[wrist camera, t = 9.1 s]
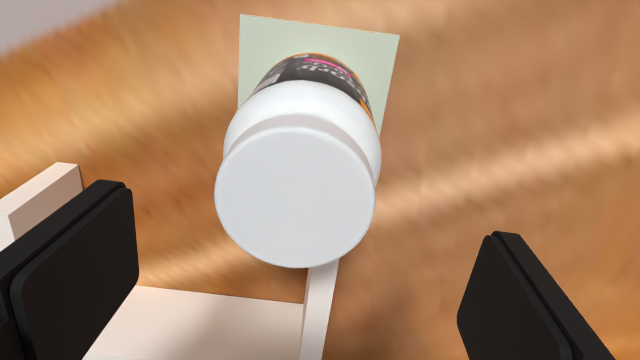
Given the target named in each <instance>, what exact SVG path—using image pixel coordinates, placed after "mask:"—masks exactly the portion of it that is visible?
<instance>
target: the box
mask: <svg viewBox="0 0 640 360" xmlns="http://www.w3.org/2000/svg"><path fill="white" fill-rule="evenodd" d="M82 191H83V188H82V183H81V177H80V171H79V166H78V165H77V164H69V163H61V162H57V163H55V164H54V165H52V166H51V167H49V168H48V169H46V170H44V171H43V172H41V173H40V174H38V175H37V176H35V177H34V178H32V179H31V180H29V181H28V182H26V183H25V184H23V185H22V186H20V187H19V188H17V189H16V190H14V191H12V192H11V193H9V194H8V195H6V196H5V197H3V198H2V199H0V251H2V250H3V249H4V248H6V247H7V246H9V245H10V244H11V243H13V242H14V241H15V240H17V239H18V238H19V237H21V236H22V235H23V234H25V233H26V232H28V231H29V230H30V229H32V228H33V227H34V226H36V225H37V224H38V223H40V222H41V221H42V220H44V219H45V218H47V217H48V216H49V215H51V214H52V213H53V212H55V211H56V210H57V209H59V208H60V207H61V206H63V205H64V204H66V203H67V202H68V201H70V200H71V199H72V198H74V197H75V196H76V195H78V194H79V193H80V192H82ZM339 259H340V258H338V259H336V260H334V261H332V262H330V263H327V264H324V265H320V266H316V267H309V268H308V275H307V282H306V290H305V297H304V304H296V303H287V302H278V301H270V300H261V299H252V298H243V297H234V296H225V295H216V294H208V293H199V292H190V291H181V290H172V289H163V288H154V287H146V286H137V285H135V287H134V288H133V289H132V291H131V292H130V294H129V295H128V296H127V298H126V299H125V300H124V302H123V303H122V305H121V306H120V307H119V309H118V310H117V312H116V313H115V314H114V316H113V317H112V319H111V320H110V321H109V323H108V324H107V325H106V327H105V328H104V330H103V331H102V332H101V334H100V335H99V337H98V338H97V339H96V341H95V342H94V343H93V345H92V346H91V348H90V349H89V350H88V352H87V353H86V355H85V356H84V357H83V359H82V360H321V359H322V353H323V347H324V342H325V336H326V331H327V325H328V320H329V314H330V309H331V303H332V297H333V292H334V286H335V281H336V275H337V270H338V264H339Z"/></svg>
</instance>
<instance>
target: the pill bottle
mask: <svg viewBox="0 0 640 360" xmlns="http://www.w3.org/2000/svg"><path fill="white" fill-rule="evenodd" d="M381 159H382V158H381V146H380V141H379V137H378V133H377V129H376V126H375V123H374V119H373V116H372V111H371V107H370V104H369V101H368V97H367V94H366V91H365V89H364V86H363V84H362V82H361V80H360V79H359V77H358V76H357V74H356V73H355V72H354V71H353V70H352V69H351V68H350V67H349V66H348V65H347V64H345V63H344V62H342V61H341V60H339V59H337V58H335V57H333V56H330V55H328V54H324V53H317V52H304V53H298V54H294V55H291V56H289V57H287V58H285V59H283V60H281V61H280V62H278V63H277V64H275V65H274V66H273V67H272V68H271V69H270V70H269V71H268V72H267V73H266V75H265V76H264V77H263V79H262V80H261V81H260V82H259V84H258V85H257V86H256V88H255V89H254V90H253V92H252V93H251V94H250V96H249V97H248V98H247V99H246V101H245V102H244V103H243V104H242V105H241V106H240V108H239V109H238V111H237V112H236V114H235V115H234V117H233V119H232V121H231V122H230V124H229V127H228V129H227V132H226V136H225V141H224V148H223V162H222V164H221V166H220V169H219V171H218V174H217V178H216V183H215V190H214V200H215V207H216V211H217V214H218V217H219V219H220V221H221V224H222V226H223V227H224V229H225V231H226V232H227V234H228V235H229V236H230V237H231V238H232V239H233V241H234V242H235V243H236V244H237V245H238V246H239V247H240V248H242V249H243V250H244V251H246V252H247V253H249V254H250V255H252V256H254V257H255V258H257V259H259V260H261V261H264V262H267V263H269V264H272V265H276V266H281V267H288V268H309V267H316V266H320V265H324V264H327V263H330V262H332V261H334V260H336V259H338V258H340V257H342V256H344V255H345V254H346V253H348V252H349V251H350V250H352V249H353V248H354V247H355V246H356V245H357V244H358V243H359V242H360V241H361V239H362V238H363V237H364V235H365V234H366V232H367V230H368V228H369V226H370V224H371V221H372V218H373V215H374V210H375V187H376V185H377V182H378V178H379V175H380V170H381Z"/></svg>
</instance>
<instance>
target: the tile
mask: <svg viewBox="0 0 640 360" xmlns="http://www.w3.org/2000/svg"><path fill="white" fill-rule="evenodd" d="M399 37H400V36H399V35H398V34H392V33H384V32H377V31H369V30H362V29H354V28H347V27H339V26H332V25H324V24H317V23H309V22H302V21H294V20H287V19H279V18H271V17H264V16H256V15H249V14H241V15H240V40H239V79H238V109H239V108H240V106H241V105H242V104H243V103H244V102H245V101H246V99H247V98H248V97H249V96H250V94H251V93H252V92H253V90H254V89H255V88H256V86H257V85H258V84H259V82H260V81H261V80H262V79H263V77H264V76H265V75H266V73H267V72H268V71H269V70H270V69H271V68H272V67H273V66H274V65H275V64H277V63H278V62H280V61H281V60H283V59H285V58H287V57H289V56H291V55H294V54H298V53H304V52H317V53H324V54H328V55H330V56H333V57H335V58H337V59H339V60H341V61H342V62H344V63H345V64H347V65H348V66H349V67H350V68H351V69H352V70H353V71H354V72H355V73H356V74H357V76H358V77H359V79H360V80H361V82H362V84H363V86H364V89H365V91H366V94H367V97H368V101H369V104H370V107H371V111H372V116H373V119H374V123H375V126H376V129H377V133H378V137H379V136H380V131H381V126H382V121H383V116H384V111H385V106H386V101H387V96H388V91H389V86H390V81H391V76H392V71H393V67H394V62H395V57H396V52H397V47H398V42H399Z"/></svg>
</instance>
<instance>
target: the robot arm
mask: <svg viewBox="0 0 640 360" xmlns="http://www.w3.org/2000/svg"><path fill="white" fill-rule="evenodd" d="M138 277H139V264H138V253H137V242H136V230H135V219H134V208H133V196H132V191H131V190H130V189H128V188H126V186H125V184H124V183H123V182H117V181H109V180H101V179H99V180H97V181H95V182H94V183H93V184H91V185H90V186H89V187H87V188H86V189H85V190H83V191H82V192H80V193H79V194H78V195H76V196H75V197H74V198H72V199H71V200H70V201H68V202H67V203H66V204H64V205H63V206H61V207H60V208H59V209H57V210H56V211H55V212H53V213H52V214H51V215H49V216H48V217H47V218H45V219H44V220H42V221H41V222H40V223H38V224H37V225H36V226H34V227H33V228H32V229H30V230H29V231H28V232H26V233H25V234H23V235H22V236H21V237H19V238H18V239H17V240H15V241H14V242H13V243H11V244H10V245H9V246H7V247H6V248H4V249H3V250H2V251H0V360H82V359H83V357H84V356H85V355H86V353H87V352H88V350H89V349H90V348H91V346H92V345H93V343H94V342H95V341H96V339H97V338H98V337H99V335H100V334H101V332H102V331H103V330H104V328H105V327H106V325H107V324H108V323H109V321H110V320H111V319H112V317H113V316H114V314H115V313H116V312H117V310H118V309H119V307H120V306H121V305H122V303H123V302H124V300H125V299H126V298H127V296H128V295H129V294H130V292H131V291H132V289H133V288H134V287H135V285H136V283H137V281H138ZM457 326H458V329H459V332H460V335H461V337H462V340H463V343H464V346H465V348H466V351H467V354H468V357H469V359H470V360H616V359H615V358H614V357H613V356H612V354H611V353H610V352H609V350H608V349H607V348H606V346H605V345H604V344H603V343H602V341H601V340H600V339H599V337H598V336H597V335H596V333H595V332H594V331H593V330H592V328H591V327H590V326H589V324H588V323H587V322H586V321H585V319H584V318H583V317H582V315H581V314H580V313H579V311H578V310H577V309H576V308H575V306H574V305H573V304H572V302H571V301H570V300H569V298H568V297H567V296H566V295H565V293H564V292H563V291H562V289H561V288H560V287H559V285H558V284H557V283H556V282H555V280H554V279H553V278H552V276H551V275H550V274H549V272H548V271H547V270H546V269H545V267H544V266H543V265H542V263H541V262H540V261H539V259H538V258H537V257H536V256H535V254H534V253H533V252H532V250H531V249H530V248H529V246H528V245H527V244H526V243H525V241H524V240H523V239H522V237H521V236H520V235H519V234H516V233H508V232H500V231H494V232H493V233H492V234H491V236H489V235H487V236H485V238H484V239H483V242H482V245H481V248H480V250H479V253H478V256H477V259H476V262H475V265H474V267H473V270H472V273H471V276H470V279H469V282H468V284H467V287H466V290H465V293H464V296H463V299H462V301H461V304H460V307H459V310H458V313H457Z"/></svg>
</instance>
